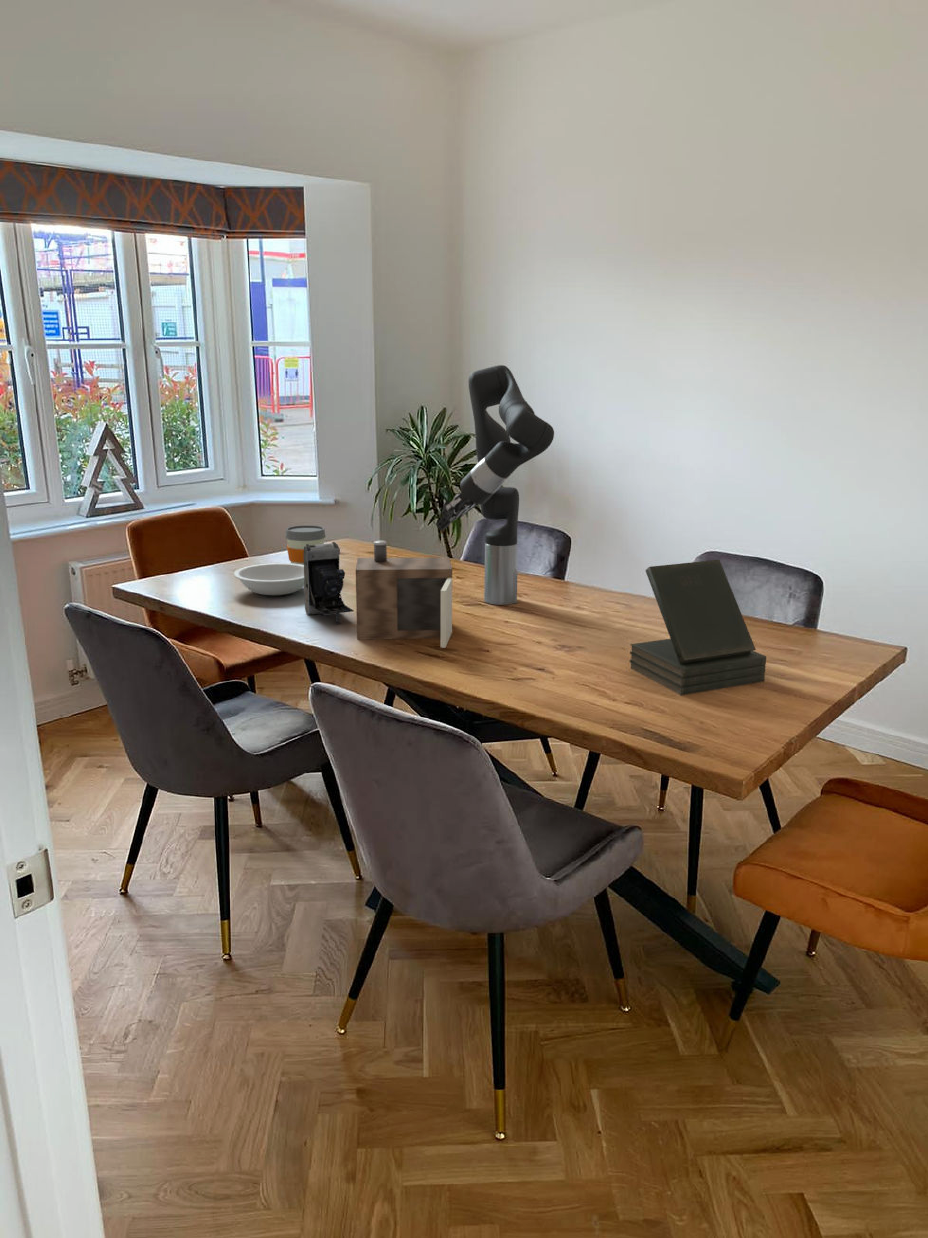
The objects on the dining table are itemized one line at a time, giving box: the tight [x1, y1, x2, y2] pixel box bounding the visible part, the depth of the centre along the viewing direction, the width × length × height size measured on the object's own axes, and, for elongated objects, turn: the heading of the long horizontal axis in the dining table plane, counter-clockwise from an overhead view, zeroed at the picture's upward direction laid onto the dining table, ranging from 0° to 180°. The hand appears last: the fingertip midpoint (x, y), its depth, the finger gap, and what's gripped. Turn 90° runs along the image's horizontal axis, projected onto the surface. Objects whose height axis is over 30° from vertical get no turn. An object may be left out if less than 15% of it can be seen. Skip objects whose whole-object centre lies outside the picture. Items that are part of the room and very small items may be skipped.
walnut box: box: [355, 556, 453, 640], centre depth 248 cm, size 24×14×18 cm, turn 94°
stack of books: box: [629, 559, 767, 697], centre depth 216 cm, size 23×20×25 cm
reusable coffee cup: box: [285, 524, 326, 565], centre depth 309 cm, size 13×13×15 cm
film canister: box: [373, 540, 388, 562], centre depth 247 cm, size 3×3×5 cm
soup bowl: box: [233, 562, 304, 596], centre depth 287 cm, size 24×24×7 cm
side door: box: [440, 576, 453, 649], centre depth 235 cm, size 14×1×14 cm, turn 174°
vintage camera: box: [303, 541, 355, 625], centre depth 259 cm, size 10×16×20 cm, turn 28°
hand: (439, 527), depth 231 cm, fingers closed
